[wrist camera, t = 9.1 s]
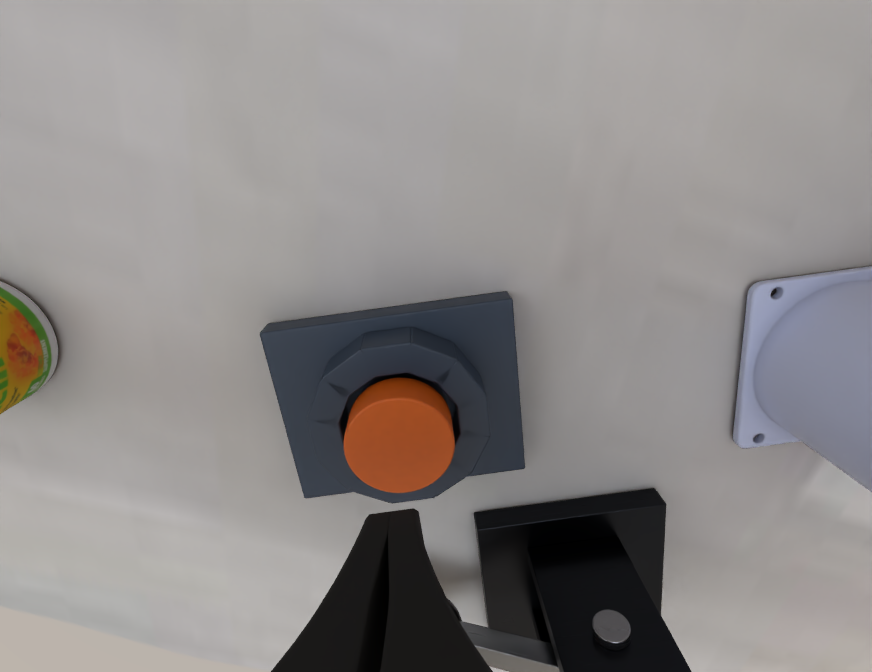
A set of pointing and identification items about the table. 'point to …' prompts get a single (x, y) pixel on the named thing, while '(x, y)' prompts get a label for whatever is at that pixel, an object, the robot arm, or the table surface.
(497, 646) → the switch lever
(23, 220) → the table surface
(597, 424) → the table surface
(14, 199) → the table surface
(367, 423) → the button
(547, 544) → the switch bracket
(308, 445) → the button box
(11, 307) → the supplement bottle
